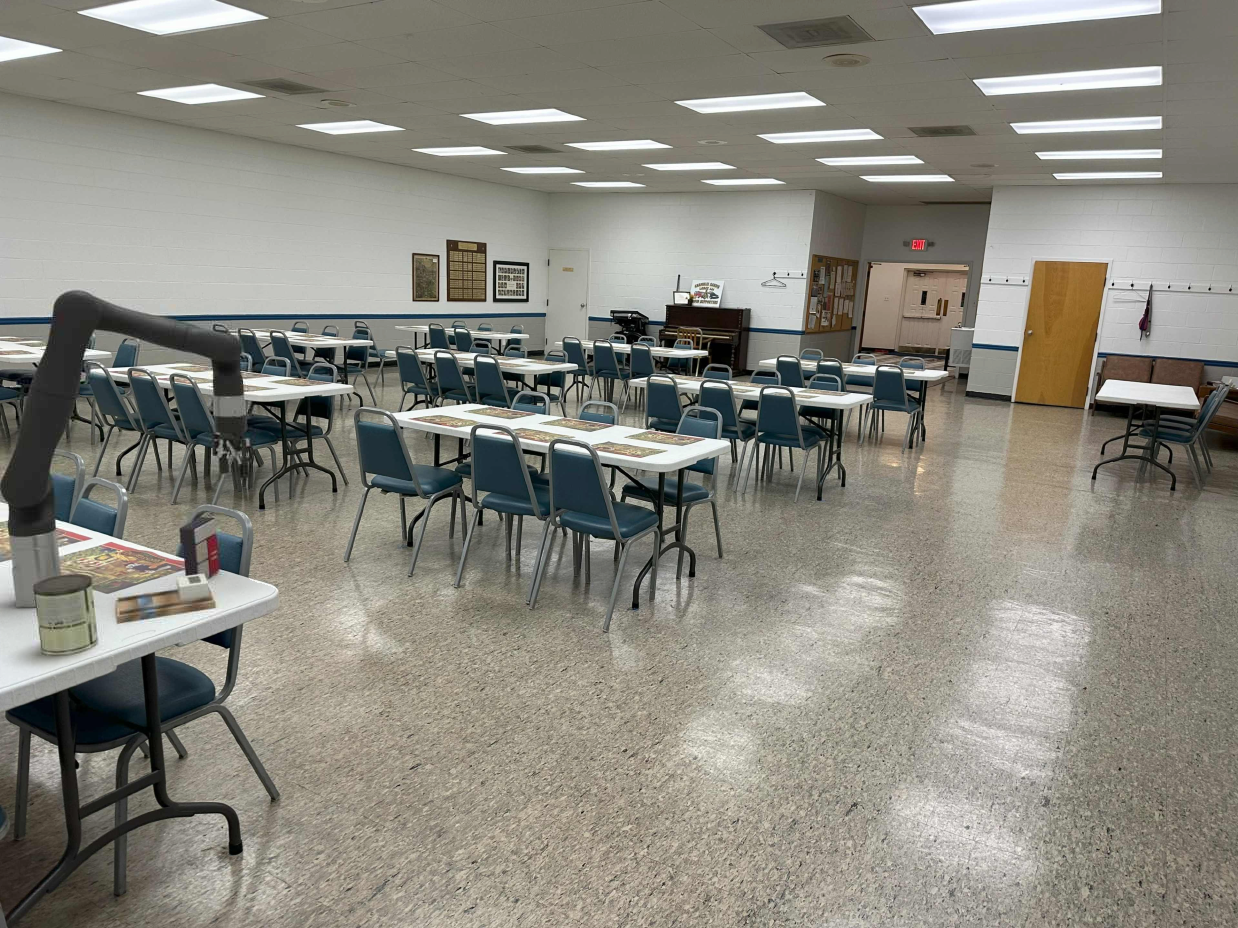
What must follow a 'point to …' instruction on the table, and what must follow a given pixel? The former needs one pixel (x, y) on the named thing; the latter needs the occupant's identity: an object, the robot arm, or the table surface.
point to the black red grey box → (200, 547)
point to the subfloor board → (158, 605)
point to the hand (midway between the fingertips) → (234, 475)
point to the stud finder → (192, 587)
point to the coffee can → (66, 614)
